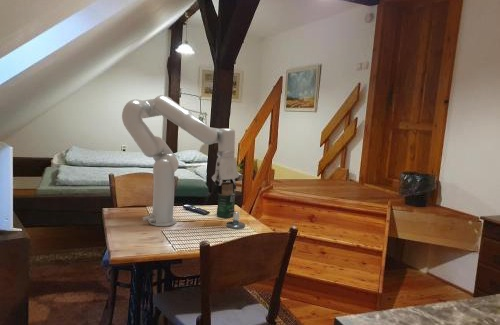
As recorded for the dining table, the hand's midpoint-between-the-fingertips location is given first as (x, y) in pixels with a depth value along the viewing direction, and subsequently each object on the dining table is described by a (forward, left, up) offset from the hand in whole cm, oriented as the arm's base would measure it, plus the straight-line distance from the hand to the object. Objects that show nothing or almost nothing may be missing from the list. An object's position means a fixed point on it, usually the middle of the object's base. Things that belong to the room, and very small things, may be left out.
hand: (225, 192), depth 168 cm
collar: (0, 0, -1) cm, 1 cm away
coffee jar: (+14, +13, -17) cm, 25 cm away
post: (+6, -3, -17) cm, 18 cm away
